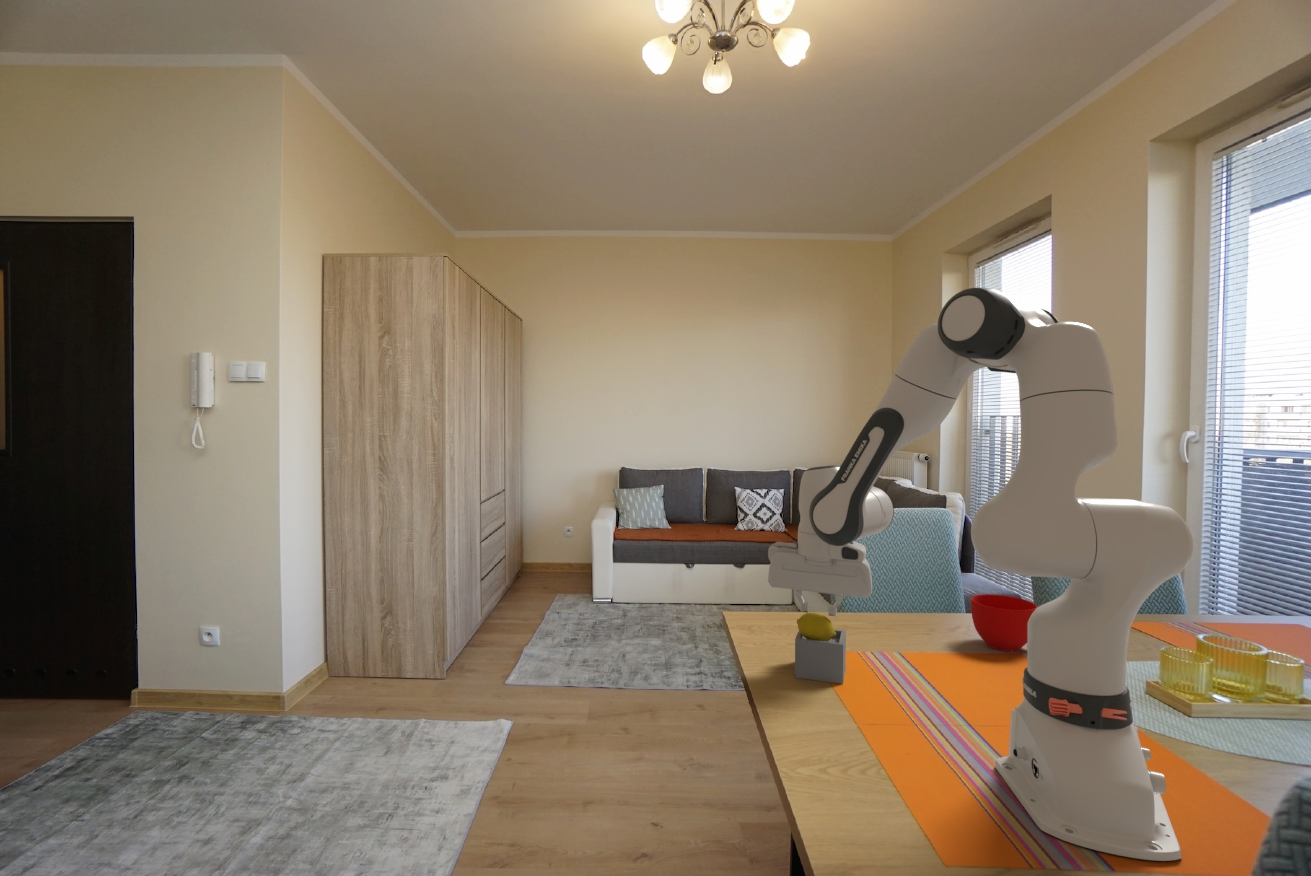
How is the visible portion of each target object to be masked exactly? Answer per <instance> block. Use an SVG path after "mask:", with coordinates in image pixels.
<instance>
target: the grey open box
mask: <svg viewBox="0 0 1311 876" xmlns="http://www.w3.org/2000/svg"><path fill="white" fill-rule="evenodd" d="M834 631H835V632H836V636H835V637H832V638H831V639H830V640H829V641H819V640H810V639H806V638H805V637H804V636H803V635H802V634H801V633H800V631H799V630H798V631H797V634H796V636H795V639H794V678H797V679H805V680H812V681H818V682H826V683H831V684H832V683H833V684H839V685H844V680H845V673H846V666H847V665H846V661H847V660H846V658H847V657H846V655H847V654H846V653H847V651H846V647H847V646H846V645H847V642H846V641H847V639H846V638H847V637H846V636H847V631H846V630H845V629H836V628H834Z"/></svg>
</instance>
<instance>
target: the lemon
mask: <svg viewBox="0 0 1311 876" xmlns="http://www.w3.org/2000/svg"><path fill="white" fill-rule="evenodd" d="M796 624H797V627H798V631H800V633H801V634H802V635H803V636H804V637H805V638H806V639H810V640H819V641H829V640H830V639H831V638H832V637H835V636H836V632H835V631H834V629H835V628H834V624H833V622H832V621H831V620H830V619H829V618H828V617H826V616H825V615H823V614H820V613H815V612H808V613H806V612H805V613H804V614H803V615H801V616H800V617H799V618H797V619H796Z"/></svg>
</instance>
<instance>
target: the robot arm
mask: <svg viewBox="0 0 1311 876" xmlns="http://www.w3.org/2000/svg"><path fill="white" fill-rule="evenodd" d="M1109 365H1110V364H1109V360H1108V357H1107V354H1106V351H1105V347H1104V344H1103V342H1102V338H1101V337H1100V335H1099V333H1098V331H1096V329H1094V328H1093V327H1091V326H1090V325H1088V324H1085V323H1081V322H1076V321H1075V322H1074V321H1062V322H1061V321H1059V319H1058V318H1057V317H1056V316H1054V314H1053V313H1051V312H1049V311H1048V310H1046V309H1044V308H1040V307H1038V306H1036V305H1035V304H1033V303H1030V302H1029V301H1028V300H1026V299H1024V298H1022V297H1020V296H1017V295H1014V294H1009V293H1006V292H1005V293H1004V292H1001V291H1000V290H998V289H995V288H990V287H971V288H966V289H963V290H960V291H959V292H957V293H955V294H954V295H952V297H951V298H949V299H948V301H946V303H945V304H944V306H943V307H942V308H941V311H940V313H939V317H938V321H937V322H936V323H935V322H934V323H931V324H929V325H926V326H925V327H923V329H921V331H920V332H919V333H918V335H917V337H915V339H914V340H913V342H912V343H911V345H910V346H909V348H908V349H907V351H906V352H905V354H904V356H903V358H902V359H901V361H900V363H899V365H898V366H897V368H896V370H895V372H894V374H893V376H892V379H891V380H890V382H889V385H888V387H887V388H886V391H885V393H884V394H883V396H882V398H881V400H880V402H879V403H878V405H877V407H876V408H875V410H874V411H873V413H872V414H871V416H870V417H869V419H868V420H867V422H866V423H865V425H863V428H862V429H861V430H860V432H859V434H858V436H857V437H856V439H855V441H854V442H853V444H852V446H851V447H850V448H849V449H850V450H849V451H848V453H847V455H846V456H845V458H844V459H843V461H842V463H841V464H840V466H839V465H824V466H813V467H810V468H807V469H806V470H805V471H803V473H802V476H801V479H800V483H799V484H800V485H799V492H798V493H799V494H798V510H799V511H798V512H799V515H800V521H799V524H798V527H797V542H783V541H775V543H772V544H770V545H769V547H768V549H767V550H768V551H767V556H768V557H767V558H768V560H769V562H770V563H769V568H768V575H767V576H768V578H767V581H768V582H767V583H768V584H769V585H770V587H772V588H779V589H785V590H794V592H795V593H794V595H795V597H796V599H797V601H798V602H799V604H800V608H799V609H800V612H801V613H805V614H806V613H809V609H810V608H809V606H810V602H809V601H805V599H804V597H803V594H804V593H805V592H811V593H819V594H827V595H834V600H835V602H834V604H829V605H828V616H829V617H830V616H831V617H837V610H838V607H839V606H840V604H841V603H842V601H843V600H844V599H843V598H844V596H845V597H855V598H862V599H868V598H870V597H871V596H872V594H873V578H872V570H871V564H870V562H869V561H868V559H867V558H866V557H867V548H866V546H865V545H864V544H862V543H860V542H857V541H856V540H860V539H864V538H867V537H871V536H874V535H877V534H879V533H882V532H884V531H885V530H887V529H888V528H889V527H890V525H891V524H892V523H893V519H894V514H895V510H894V504H893V501H892V500H891V498H890V496H889V495H888V493H887V492H886V491H884V490H883V489H881V488H879V487H877V486H874V485H875V484H876V482H877V480H878V479H879V477H880V475H881V473H882V472H883V469H885V467H886V465H887V463H888V462H889V460H890V459H892V457H893V456H894V455H895V454H896V453H897V452H898V451H900V450H901V449H903V448H904V447H905V446H907V445H909V444H911V443H913V442H915V441H917V440H919V439H921V438H923V437H926V436H929V435H930V434H931V433H933V432H935V431H936V430H937V429H938V428H939V427H940V425H941V424H942V423H943V422H944V421H945V419H946V418H947V417H948V415H949V414H950V413H951V411H952V409H953V407H954V406H955V403H956V401H957V400H958V398H959V395H960V393H961V392H962V390H963V388H964V386H965V384H966V382H967V381H968V379H969V378H970V376H971V375H972V374H973V373H974V372H976V371H978V370H981V369H984V368H987V369H988V370H989V371H990V372H994V373H995V372H996V373H997V372H998V373H1009V374H1015V375H1016V377H1017V380H1018V381H1017V382H1018V391H1019V392H1018V394H1019V395H1018V397H1019V413H1020V444H1019V445H1020V447H1019V457H1018V460H1017V464H1016V466H1015V469H1014V471H1013V473H1012V475H1011V477H1010V478H1009V480H1008V481H1007V483H1006V484H1005V486H1003V488H1002V489H1001V490H1000V491H999V492H998V493H996V495H994V496H993V497H992V498H990V499H988V501H985V503H983V504H982V505H981V506H980V508H978V510H977V512H976V513H975V515H974V517H973V520H972V521H971V527H970V538H971V543H972V547H973V548H974V551H975V552H976V555H977V556H978V557H979V559H980V560H981V561H982V562H983V563H984V564H985V565H986V566H987V567H988V568H990V569H993V570H997V571H1001V572H1006V573H1009V574H1013V575H1014V574H1015V575H1019V576H1024V577H1034V578H1035V577H1036V578H1037V577H1038V578H1039V577H1040V578H1056V579H1057V578H1060V579H1064V578H1065V579H1071V581H1070V583H1069V584H1068V586H1067V588H1066V589H1065V591H1064V592H1063V593H1062V594H1061V595H1060V596H1058V597H1057V598H1055V599H1052V600H1050V601H1048V602H1045V603H1043V604H1041V605H1039V606H1037V609H1036V610H1035V611H1034V612H1033V613H1032V614H1031V616H1030V618H1029V620H1028V635H1027V643H1026V645H1027V646H1026V648H1027V653H1026V654H1027V655H1026V656H1027V658H1026V659H1027V660H1026V661H1027V662H1026V663H1027V665H1026V666H1027V667H1025V668H1024V670H1023V677H1022V687H1023V688H1022V690H1023V693H1022V694H1023V697H1024V698H1023V700H1022V701H1021V702H1020V703H1019V705H1017V706H1016V707H1014V709H1012V710H1011V711H1010V726H1009V741H1008V742H1009V744H1008V755H1007V756H1002V757H998V758H996V760H995V766H994V767H995V770H996V771H998V773H999V775H1000V776H1001V777H1002V779H1003V780H1004V782H1005V783H1006V785H1008V788H1010V790H1011V791H1012V793H1013V794H1014V795H1015V796H1016V798H1017V800H1018V801H1019V802H1020V803H1021V806H1022V807H1024V809H1025V810H1026V812H1027V813H1028V815H1029V816H1030V818H1031V819H1032V820H1033V822H1034V823H1035V825H1036V826H1037V827H1038V828H1039V829H1040V830H1041V831H1043V832H1044V833H1046V834H1048V835H1050V836H1053V837H1055V838H1058V839H1059V840H1061V841H1064V842H1068V843H1070V844H1074V845H1076V846H1079V847H1083V848H1087V849H1091V850H1094V851H1097V852H1101V853H1102V852H1103V853H1105V854H1111V855H1116V856H1121V857H1126V858H1131V859H1137V860H1145V861H1155V862H1156V861H1158V862H1159V861H1160V862H1166V861H1168V862H1169V861H1177V860H1180V859H1182V850H1181V846H1180V843H1179V841H1178V838H1177V836H1176V833H1175V829H1174V828H1173V825H1172V823H1171V822H1172V821H1171V820H1170V816H1169V814H1168V811H1167V808H1166V806H1165V804H1164V803H1165V802H1164V800H1163V797H1162V795H1163V794H1164V795H1165V794H1166V791H1167V787H1166V786H1167V785H1166V779H1165V775H1164V774H1163V773H1161V772H1158V771H1153V770H1148V766H1147V761H1151V760H1152V758H1151V757H1152V755H1151V754H1152V753H1151V750H1150V749H1149V748H1147V747H1142V745H1141V741H1140V737H1139V729H1138V727H1137V726H1136V725H1135V724H1134V719H1133V703H1132V701H1133V700H1132V699H1131V695H1130V694H1131V692H1130V689H1129V688H1128V686H1126V685H1127V684H1126V677H1127V659H1128V658H1127V657H1128V647H1129V637H1130V632H1131V628H1132V625H1133V623H1134V620H1135V618H1136V615H1137V614H1138V612H1139V610H1140V609H1141V607H1142V606H1143V604H1144V603H1145V601H1146V600H1147V599H1148V598H1149V596H1151V595H1152V593H1154V591H1155V590H1157V589H1158V588H1159V587H1160V586H1161V585H1163V584H1164V583H1165V582H1167V581H1168V580H1170V579H1172V578H1173V577H1176V576H1177V575H1179V574H1180V573H1182V572H1183V570H1184V569H1185V568H1186V567H1187V565H1188V564H1189V562H1190V560H1191V558H1192V556H1193V555H1192V554H1193V550H1194V541H1193V536H1192V532H1191V530H1190V527H1189V526H1188V523H1187V522H1186V520H1185V519H1183V517H1182V516H1181V515H1180V514H1179V513H1178V512H1177V511H1176V510H1175V509H1173V508H1172V507H1170V506H1167V505H1162V504H1157V503H1153V502H1149V501H1143V500H1138V499H1132V498H1111V497H1109V498H1108V497H1106V498H1105V497H1104V498H1103V497H1077V496H1076V493H1075V492H1076V491H1075V490H1076V485H1077V482H1078V480H1079V478H1080V476H1082V474H1085V473H1088V472H1089V471H1092V470H1094V469H1096V468H1098V467H1100V466H1101V465H1103V464H1105V463H1107V462H1108V461H1109V460H1110V459H1111V458H1112V456H1114V454H1115V453H1116V451H1117V448H1118V444H1119V442H1118V441H1119V437H1118V429H1117V428H1118V427H1117V417H1116V407H1115V396H1114V389H1113V387H1114V386H1113V380H1112V373H1111V369H1110V366H1109ZM1161 794H1162V795H1161Z"/></svg>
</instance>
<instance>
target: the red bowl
mask: <svg viewBox="0 0 1311 876" xmlns="http://www.w3.org/2000/svg"><path fill="white" fill-rule="evenodd" d="M1037 608H1038V606H1037V604H1036V603H1035V602H1033V601H1029V600H1027V599H1024V598H1020V597H1016V596H1009V595H1003V594H976V595H974V596H972V597H971V598H970V610H971V611H970V612H971V618H972V622H973V625H974V628H975V631H976V632H977V634H978V636H980V638H981V639H982V640H983V642H985V644H986V645H987V647H990V648H992V649H993V650H994V649H995V650H997V651H998V650H999V651H1004V652H1018V651H1020V649H1022V648H1023V647H1024V646H1025V645H1027V635H1028V620H1029V618H1030V616H1031V614H1032V613H1033V612H1034V611H1035V610H1036V609H1037Z"/></svg>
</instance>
